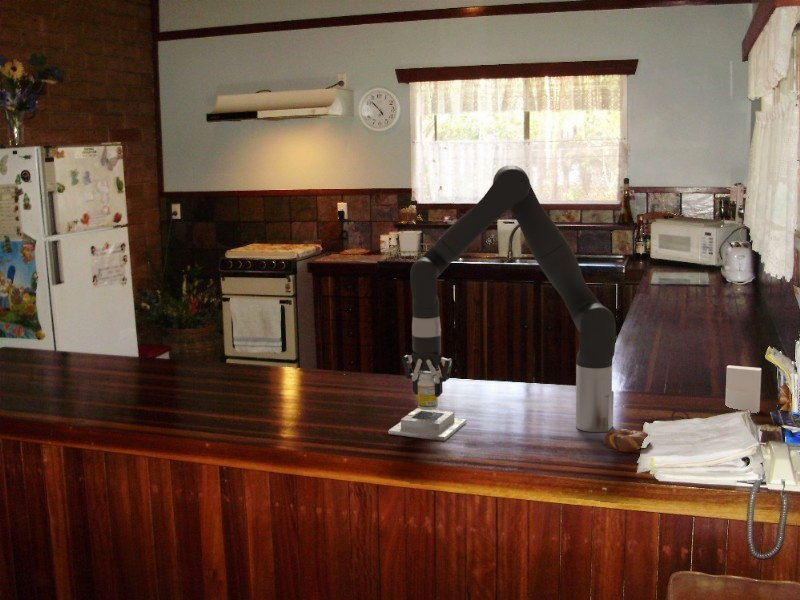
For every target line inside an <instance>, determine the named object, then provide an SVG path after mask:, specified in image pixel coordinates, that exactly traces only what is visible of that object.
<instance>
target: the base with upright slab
mask: <svg viewBox="0 0 800 600" xmlns="http://www.w3.org/2000/svg"><path fill="white" fill-rule="evenodd" d="M725 380H726V381H725V384H726V385H725V405H726V406H727V407H729V408H733V409H738V410H746V409H748V410H750V411H751V413H756V414H758V413H759V412H760V410H761V409H760V405H761V403H760V402H761V386H762V385H761V384H762V368H761V367H753V366H751V367H750V366H743V365H742V366H740V365H729V364H728V365H727V366H726V379H725ZM725 405H724V406H725ZM757 412H758V413H757Z"/></svg>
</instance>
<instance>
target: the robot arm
mask: <svg viewBox="0 0 800 600" xmlns="http://www.w3.org/2000/svg"><path fill="white" fill-rule="evenodd" d="M508 211H510V212H511V214H512V215H513V217H514V218H515V220H516V222H517V223H518V225H519V227H520V230H521V232H522V236H523V237H524V240H525V242H526V245H527V246H528V248H529V250H530V252H531V254H532V256H533V257H534V260H535V261H536V263H537V264H538V265H539V267H540V269H541V271H542V272H543V274H544V275H545V276H546V278H547V279H548V281H549V282H550V284H551V286H553V287H554V289H555V290H556V291H557V293H558V294H559V295H560V297H561V298H562V300H563V302H564V304H565V307H566V308H567V310H568V313H569V315H570V316H571V320H572V321H573V323H574V326H575V328H576V329H577V331H578V332H579V350H578V352H577V353H576V365H575V367H576V369H575V370H576V371H575V373H576V375H575V376H576V377H575V379H576V380H575V381H576V382H575V387H576V389H575V428H577V429H578V430H580V431H582V432H588V433H589V432H591V433H603V432H605V433H607V432H609V431H611V429H612V427H614V397H615V395H614V391H613V390H612V389H613V358H614V356H615V352H616V350H615V349H616V333H617V332H616V331H617V329H616V328H617V327H616V326H617V325H616V318H615V315H614V314H613V312H612V311H611V310H610V309H609V308H607V307H605V305H603V304H602V303H601V302H600V301H599V300H598V298H597V297H596V295H595V294H594V293H593V291H592V290H591V289H590V288H589V286H588V284H587V282H586V280H585V279H584V276H583V273H582V270H581V267H580V264H579V262H578V259H577V257H576V255H575V253H574V251H573V249H572V247H571V246H570V244H569V243H568V241H567V239H566V237H565V236H564V234H563V233H562V231H561V229H559V228H558V226H557V224H556V223H555V222H554V221H553V219H552V218H551V217H550V215H549V214H548V213H547V212H546V211H545V209H544V208H543V206H542V205H541V203H540V201H539V199H538V197H537V195H536V192H535V190H534V189H533V187H532V184H531V181H530V178H529V175H528V174H527V172H526V171H525V170H524V169H523V168H521V167H519V166H517V165H511V164H507V165H505V166H502V167H501V168H499V169H498V170H497V171H496V172H495V174H494V177H493V180H492V184H491V186H490V187H489V189H488V190H487V191H486V192H485V194H484V196H483V197H481V199H480V200H479V201H478V202H477V203H476V204H475V205H474V206H473V207H472V208H471V209H470V210H468V211H467V212H466V213H465V214H463V215H462V216H460V218H459V219H457V220H456V221H455V222H454V223H453V224H452V225H451V226H449V228H448V229H447V230H445V232H444V233H443V234H441V236H439V237H438V239H437V240H436V242H435V243H433V245H432V247H430V248H429V249H428V250H427V251H426V252H424V253H423V255H421V256H420V257H419V258H418V259H417V260H416V261H415V262H413V264H412V266H411V268H410V272H409V273H410V276H409V278H410V288H411V294H412V295H411V296H412V323H411V331H412V332H411V335H412V338H411V339H412V354H410V355H409V354H406V355H404V356H402V357H401V361H402V365H403V369H404V375H405V378H406V379H410V380H411V382H412V392H413V393H414V395H416V396H418V381H419V380H420V372H422V371H430V372H431V374H432V376H434V379H435V381H436V383H435V397H438V398H439V397H440V396H441V395H442V394H443V390H444V389H443V383H445V382H446V381H448V380H450V376H451V372H452V367H453V359H452V358H445V357H443V355H442V338H441V337H442V328H441V326H442V325H441V318H440V300H439V296H438V278H439V276H441V275H442V273H443V272H444V271H445V270H446V269H447V268H448V267H449V266H450V264H451V263H453V262H454V261H456V260H457V259H458V258H459V257H460V256H461V255H462V254H463V253H464V252H465V251H466V250H467V249H469V248H470V246H471V245H472V244H474V242H475V241H476V240H477V239H478V238H479V237H480V236H481V235H482V234H483V233H484V232H485V231H486V229H488V227H489V226H491V225H492V224H493V223H494V222H495V221H496V220H497V219H498V218H500V217H502V215H503V214H504V213H506V212H508ZM412 362H413V363H414V364H415V367H414V370H413V365H412ZM440 364H442V367H443V371H441V368H440Z"/></svg>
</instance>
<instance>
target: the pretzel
mask: <svg viewBox="0 0 800 600" xmlns="http://www.w3.org/2000/svg"><path fill="white" fill-rule="evenodd" d="M648 434H649V433H648V432H645V431H639V430H636V429H635V430H630V429H628V428H620V429H612V430H611V429H610V431H609V432H605V434H604V436H603V439H602V440H603V444H604V445H605V446H606V447H607V448H609V449H614V450H618V451H620V452H626V453H627V452H633V451H639V450H638V449H640V448H641V446H642V443H643V441H644V439H645V438H646V437H647V436H648ZM640 450H641V449H640Z"/></svg>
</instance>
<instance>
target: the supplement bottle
mask: <svg viewBox="0 0 800 600" xmlns="http://www.w3.org/2000/svg"><path fill="white" fill-rule="evenodd" d="M435 383H436V381H435V379H434V376H432V374H431V372H430V371H426V370H425V371H422V372H420V377H419V381H418V395H417V408H420V409H422V410H437V409H438V406H439V397H435Z"/></svg>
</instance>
